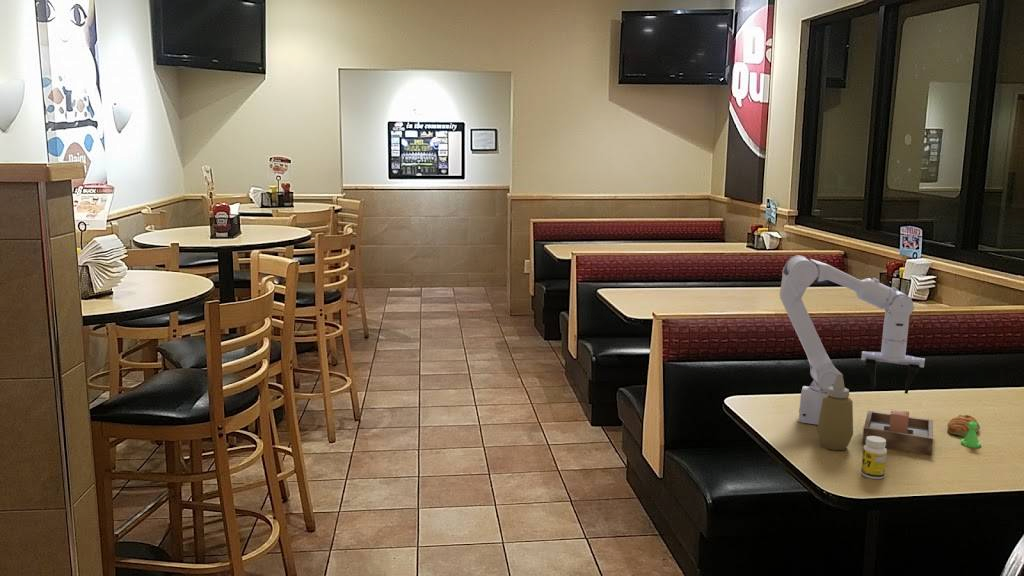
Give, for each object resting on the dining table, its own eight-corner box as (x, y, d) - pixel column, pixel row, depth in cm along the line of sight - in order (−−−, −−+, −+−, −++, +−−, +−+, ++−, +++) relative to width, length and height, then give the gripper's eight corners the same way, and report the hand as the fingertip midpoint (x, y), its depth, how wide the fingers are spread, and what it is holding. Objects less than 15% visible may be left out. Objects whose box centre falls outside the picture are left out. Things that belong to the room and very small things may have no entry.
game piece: (982, 448, 196) (985, 424, 195) (962, 446, 197) (965, 422, 196) (978, 442, 200) (981, 419, 199) (959, 440, 201) (961, 417, 200)
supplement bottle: (856, 471, 181) (860, 435, 180) (877, 470, 182) (880, 434, 180) (867, 479, 176) (871, 442, 175) (888, 479, 177) (892, 442, 175)
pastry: (970, 440, 202) (971, 425, 201) (940, 433, 206) (942, 419, 206) (980, 431, 208) (982, 417, 208) (952, 425, 213) (953, 411, 212)
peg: (887, 441, 200) (890, 413, 199) (888, 436, 203) (891, 409, 202) (906, 444, 198) (908, 416, 197) (906, 438, 202) (909, 411, 200)
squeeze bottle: (850, 442, 198) (857, 371, 195) (852, 454, 191) (859, 380, 188) (815, 438, 201) (821, 367, 198) (816, 450, 193) (822, 376, 190)
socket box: (862, 443, 198) (863, 428, 197) (866, 425, 211) (868, 410, 210) (931, 455, 191) (933, 438, 190) (931, 435, 204) (933, 420, 204)
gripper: (862, 338, 207) (857, 390, 209) (926, 345, 200) (920, 398, 203) (864, 333, 213) (859, 383, 215) (926, 339, 207) (921, 391, 209)
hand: (889, 390), depth 209 cm, fingers open, 7 cm apart
